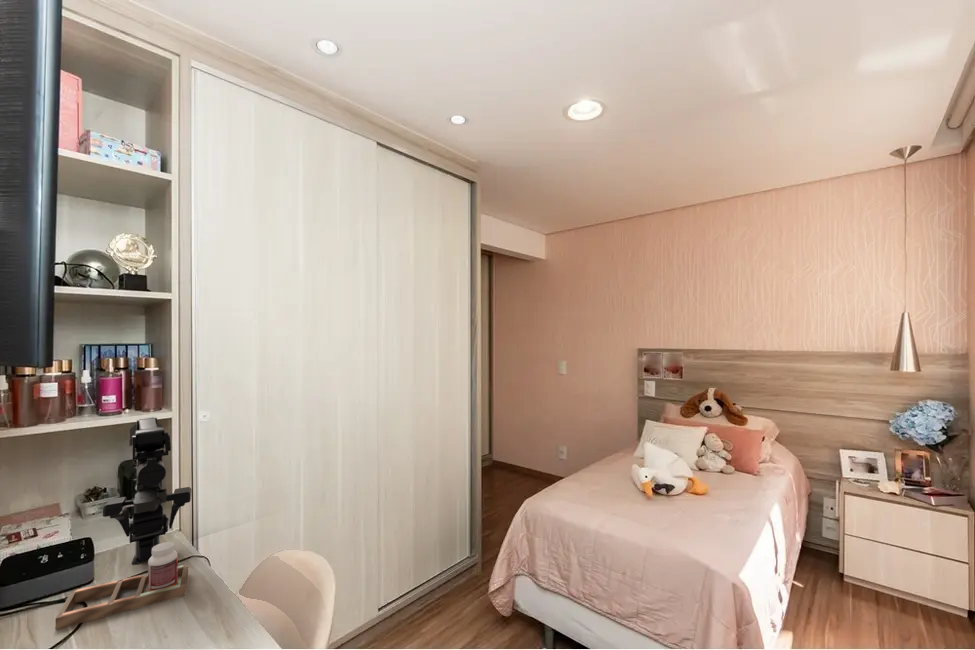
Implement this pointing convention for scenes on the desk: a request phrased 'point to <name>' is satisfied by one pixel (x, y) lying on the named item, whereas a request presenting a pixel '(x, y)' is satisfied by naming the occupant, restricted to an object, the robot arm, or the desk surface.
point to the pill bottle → (162, 567)
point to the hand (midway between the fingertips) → (149, 532)
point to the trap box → (118, 598)
